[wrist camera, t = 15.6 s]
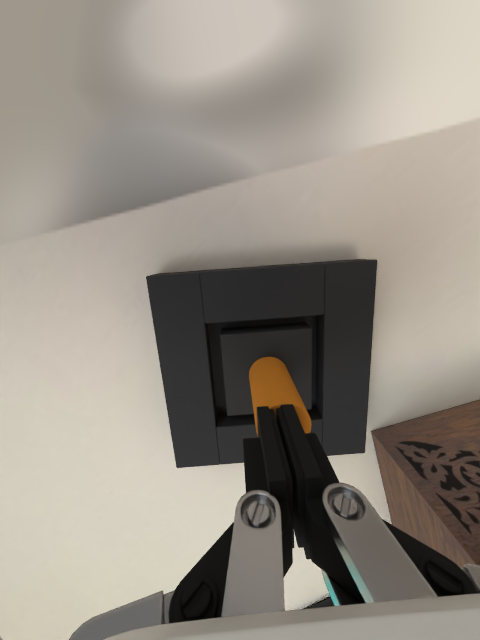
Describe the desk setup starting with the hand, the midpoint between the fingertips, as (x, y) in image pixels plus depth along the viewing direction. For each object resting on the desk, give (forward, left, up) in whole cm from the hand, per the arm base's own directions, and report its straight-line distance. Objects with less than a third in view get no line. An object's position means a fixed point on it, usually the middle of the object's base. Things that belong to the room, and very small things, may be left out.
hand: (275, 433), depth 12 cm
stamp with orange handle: (0, 0, -7) cm, 7 cm away
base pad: (0, 0, -8) cm, 8 cm away
